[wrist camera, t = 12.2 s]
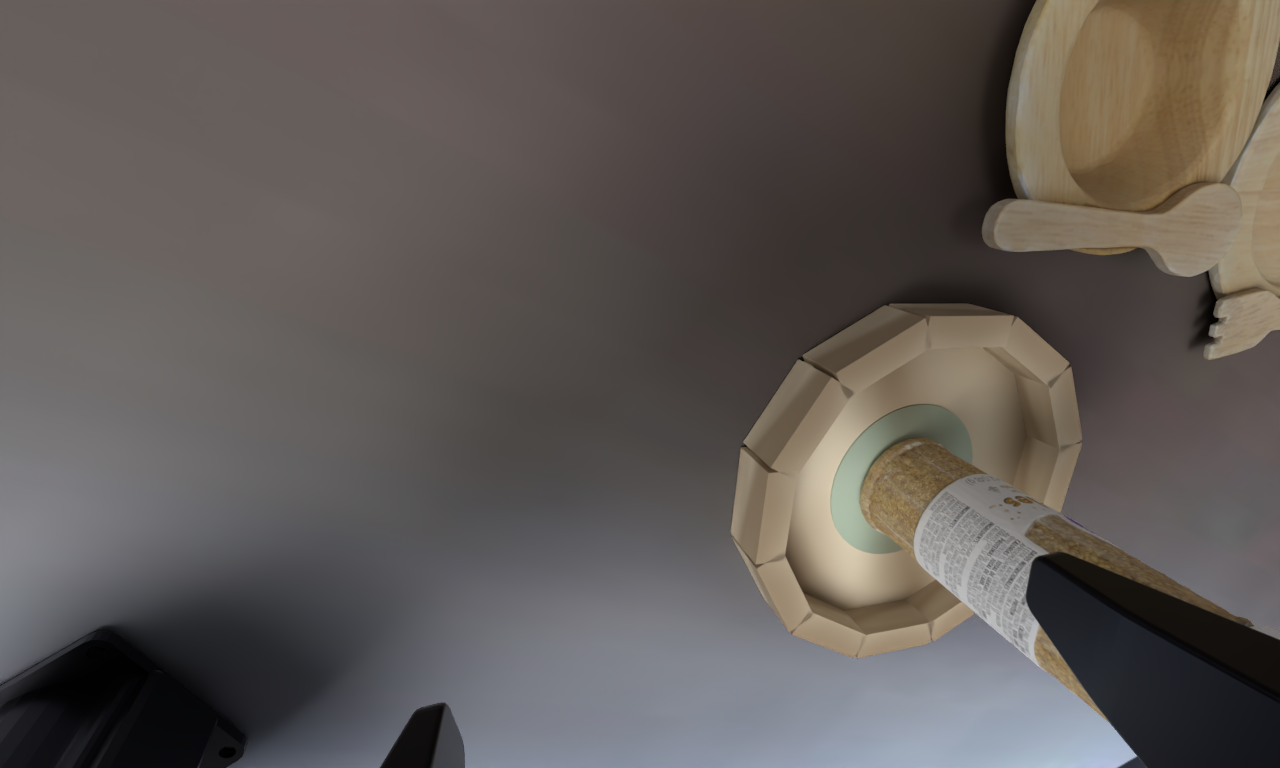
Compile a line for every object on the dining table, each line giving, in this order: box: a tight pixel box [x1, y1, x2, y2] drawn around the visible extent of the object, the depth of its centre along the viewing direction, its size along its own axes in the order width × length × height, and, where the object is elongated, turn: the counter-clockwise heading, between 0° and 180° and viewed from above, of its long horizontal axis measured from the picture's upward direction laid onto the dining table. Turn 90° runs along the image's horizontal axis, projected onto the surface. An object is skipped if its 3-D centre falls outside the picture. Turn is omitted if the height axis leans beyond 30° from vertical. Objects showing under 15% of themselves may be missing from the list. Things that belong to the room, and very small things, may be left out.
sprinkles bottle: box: [859, 438, 1280, 723], centre depth 20 cm, size 5×5×14 cm
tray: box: [731, 303, 1083, 658], centre depth 25 cm, size 15×15×2 cm
